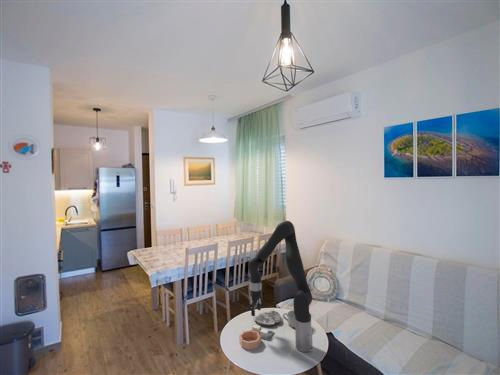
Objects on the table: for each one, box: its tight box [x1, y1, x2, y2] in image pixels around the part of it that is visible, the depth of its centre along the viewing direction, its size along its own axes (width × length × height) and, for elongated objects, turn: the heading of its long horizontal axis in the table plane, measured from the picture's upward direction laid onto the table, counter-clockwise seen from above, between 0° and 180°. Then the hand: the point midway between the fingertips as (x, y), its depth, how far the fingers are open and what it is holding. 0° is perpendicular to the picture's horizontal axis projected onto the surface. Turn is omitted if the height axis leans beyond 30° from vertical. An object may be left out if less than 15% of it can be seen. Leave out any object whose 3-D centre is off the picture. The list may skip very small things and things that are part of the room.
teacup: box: [282, 309, 295, 329], centre depth 179 cm, size 14×11×8 cm
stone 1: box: [251, 324, 262, 333], centre depth 171 cm, size 4×3×4 cm
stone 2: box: [260, 328, 270, 338], centre depth 166 cm, size 4×3×4 cm
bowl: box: [238, 329, 262, 351], centre depth 160 cm, size 12×12×5 cm
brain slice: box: [252, 310, 282, 327], centre depth 185 cm, size 20×17×3 cm
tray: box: [259, 327, 275, 342], centre depth 169 cm, size 14×9×1 cm, turn 62°
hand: (256, 312), depth 171 cm, fingers open, 8 cm apart
